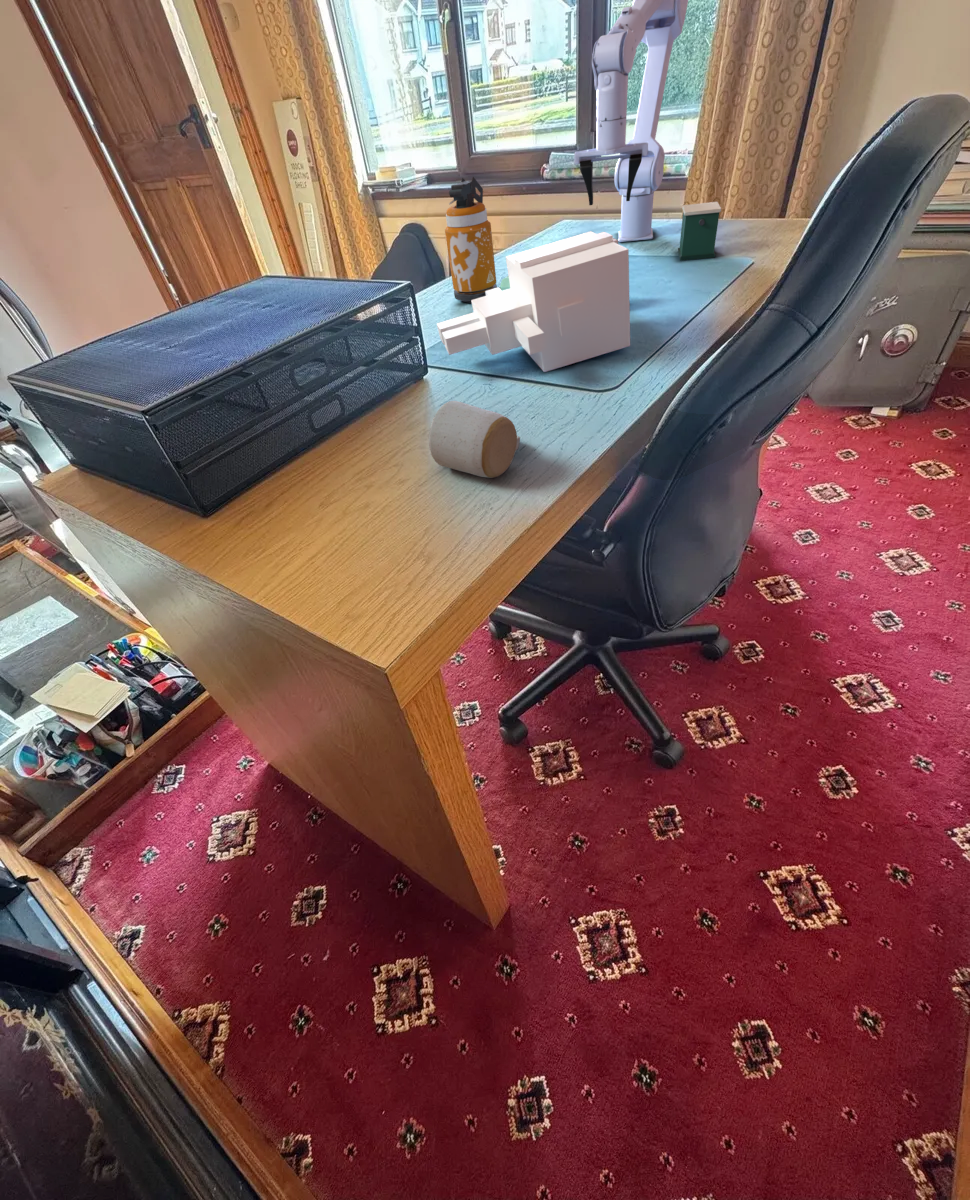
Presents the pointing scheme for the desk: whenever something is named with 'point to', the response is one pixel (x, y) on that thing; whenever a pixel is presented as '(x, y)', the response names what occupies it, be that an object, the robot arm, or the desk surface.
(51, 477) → the desk surface
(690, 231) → the green and cream block
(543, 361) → the blocky voxel creature
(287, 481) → the desk surface
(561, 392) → the desk surface
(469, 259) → the canister
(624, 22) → the robot arm
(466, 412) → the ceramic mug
